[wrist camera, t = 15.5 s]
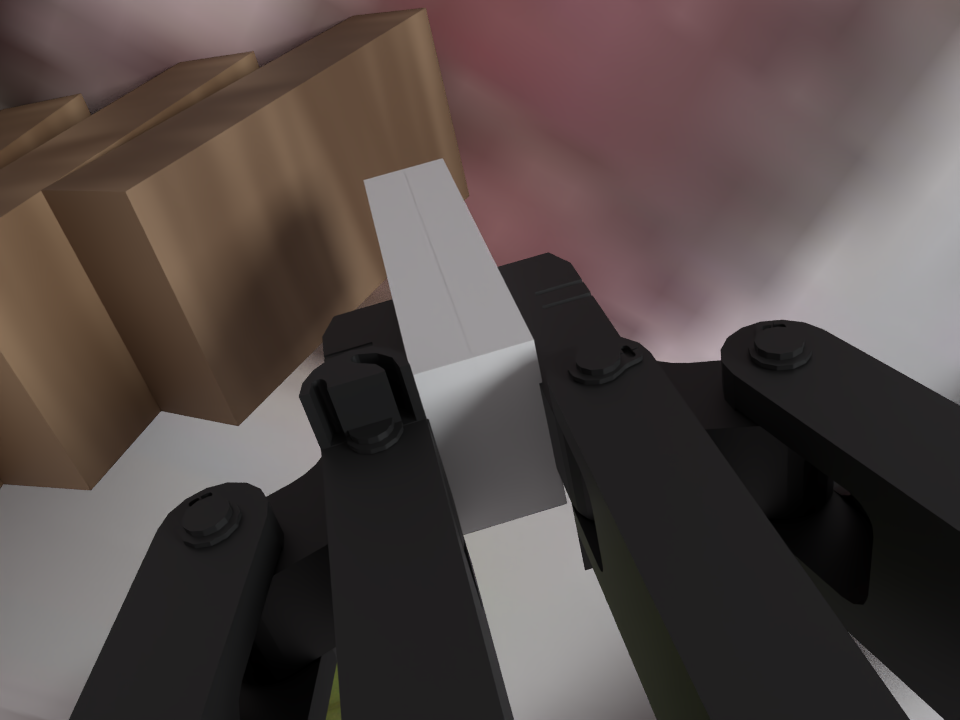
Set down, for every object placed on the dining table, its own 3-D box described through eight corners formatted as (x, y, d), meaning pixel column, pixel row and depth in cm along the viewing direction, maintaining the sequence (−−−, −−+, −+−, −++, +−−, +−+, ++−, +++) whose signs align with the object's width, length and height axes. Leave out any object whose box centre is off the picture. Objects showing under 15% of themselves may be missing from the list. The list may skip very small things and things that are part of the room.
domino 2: (425, 7, 20) (124, 192, 14) (469, 195, 23) (238, 426, 16) (353, 15, 21) (40, 190, 15) (403, 194, 24) (160, 410, 17)
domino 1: (253, 51, 20) (-61, 257, 13) (317, 233, 23) (91, 490, 16) (180, 62, 21) (-157, 263, 14) (251, 237, 24) (3, 484, 16)
